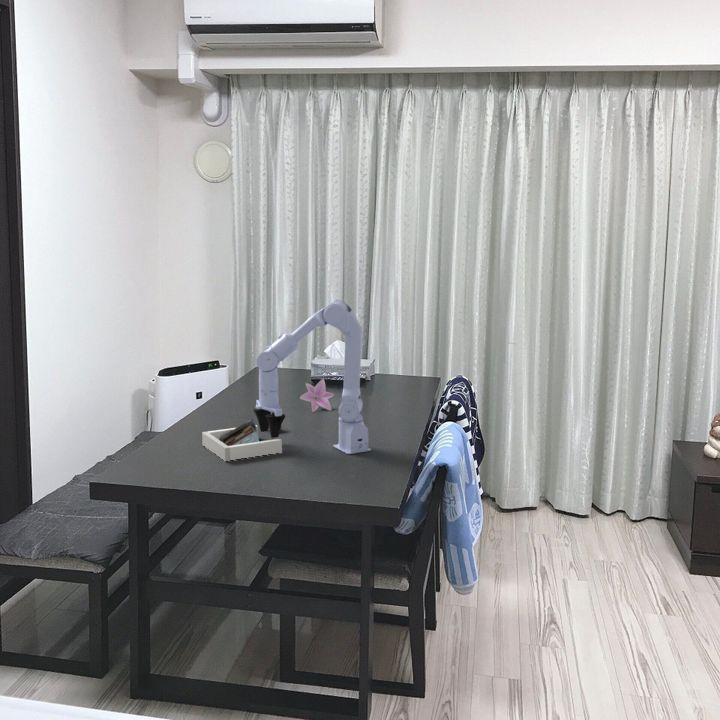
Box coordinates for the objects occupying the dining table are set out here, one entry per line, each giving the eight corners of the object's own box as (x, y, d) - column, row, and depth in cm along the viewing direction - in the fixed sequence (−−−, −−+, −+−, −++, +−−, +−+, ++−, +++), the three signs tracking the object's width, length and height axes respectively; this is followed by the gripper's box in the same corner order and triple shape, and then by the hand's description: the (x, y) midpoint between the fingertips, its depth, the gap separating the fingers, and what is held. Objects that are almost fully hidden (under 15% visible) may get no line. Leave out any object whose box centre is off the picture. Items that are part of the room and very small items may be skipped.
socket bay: (281, 453, 247) (281, 439, 246) (225, 461, 239) (225, 448, 238) (256, 437, 263) (256, 425, 263) (202, 445, 255) (202, 432, 254)
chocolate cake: (224, 452, 249) (253, 423, 250) (216, 440, 255) (245, 412, 255) (244, 467, 256) (273, 439, 256) (236, 455, 261) (264, 428, 261)
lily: (294, 413, 297) (301, 393, 292) (300, 394, 307) (307, 373, 302) (326, 424, 298) (334, 403, 293) (331, 404, 308) (338, 384, 303)
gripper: (246, 387, 256) (247, 430, 259) (266, 396, 244) (267, 441, 247) (268, 384, 260) (268, 427, 262) (288, 393, 248) (288, 438, 250)
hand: (269, 434), depth 255 cm, fingers open, 7 cm apart
